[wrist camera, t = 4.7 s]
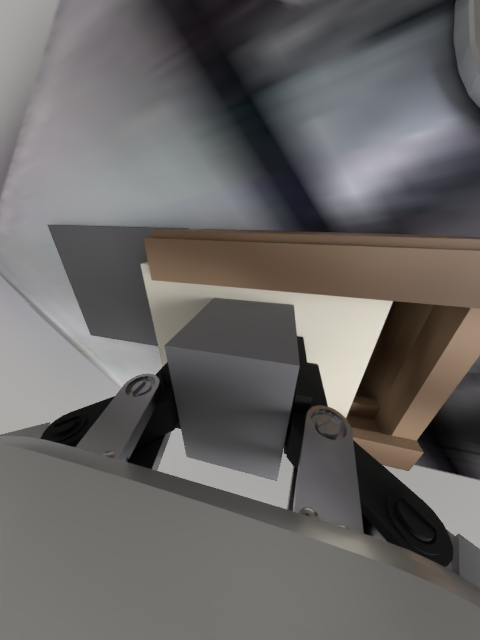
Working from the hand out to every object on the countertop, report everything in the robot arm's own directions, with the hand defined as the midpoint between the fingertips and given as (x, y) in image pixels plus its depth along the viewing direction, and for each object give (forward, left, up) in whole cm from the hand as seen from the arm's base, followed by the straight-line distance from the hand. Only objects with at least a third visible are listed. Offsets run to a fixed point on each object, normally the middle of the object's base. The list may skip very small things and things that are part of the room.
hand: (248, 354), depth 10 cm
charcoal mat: (0, -14, -7) cm, 15 cm away
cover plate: (0, 0, -1) cm, 1 cm away
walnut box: (0, +2, -7) cm, 8 cm away
